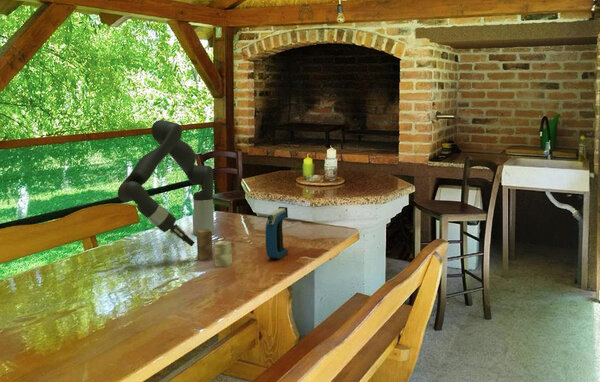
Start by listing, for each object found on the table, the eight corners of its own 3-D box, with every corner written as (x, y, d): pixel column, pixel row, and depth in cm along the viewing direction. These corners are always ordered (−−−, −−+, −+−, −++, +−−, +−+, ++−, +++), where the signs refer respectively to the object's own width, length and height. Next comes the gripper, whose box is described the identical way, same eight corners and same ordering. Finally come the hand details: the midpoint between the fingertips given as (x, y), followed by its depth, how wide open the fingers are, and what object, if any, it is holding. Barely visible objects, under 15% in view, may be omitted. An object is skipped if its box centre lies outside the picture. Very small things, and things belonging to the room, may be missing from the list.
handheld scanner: (289, 251, 267) (288, 206, 264) (276, 262, 252) (274, 214, 249) (279, 251, 269) (278, 206, 265) (265, 261, 254) (263, 214, 250)
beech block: (215, 266, 248) (214, 244, 247) (220, 262, 253) (219, 241, 251) (227, 266, 247) (226, 244, 245) (231, 263, 252) (231, 241, 250)
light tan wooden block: (200, 261, 255) (199, 232, 253) (197, 258, 259) (196, 230, 257) (212, 259, 257) (211, 231, 255) (209, 256, 262) (208, 228, 259)
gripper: (171, 213, 243) (203, 240, 250) (163, 207, 255) (194, 233, 262) (158, 228, 241) (191, 255, 249) (151, 221, 253) (182, 247, 260)
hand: (192, 244), depth 255 cm, fingers closed
